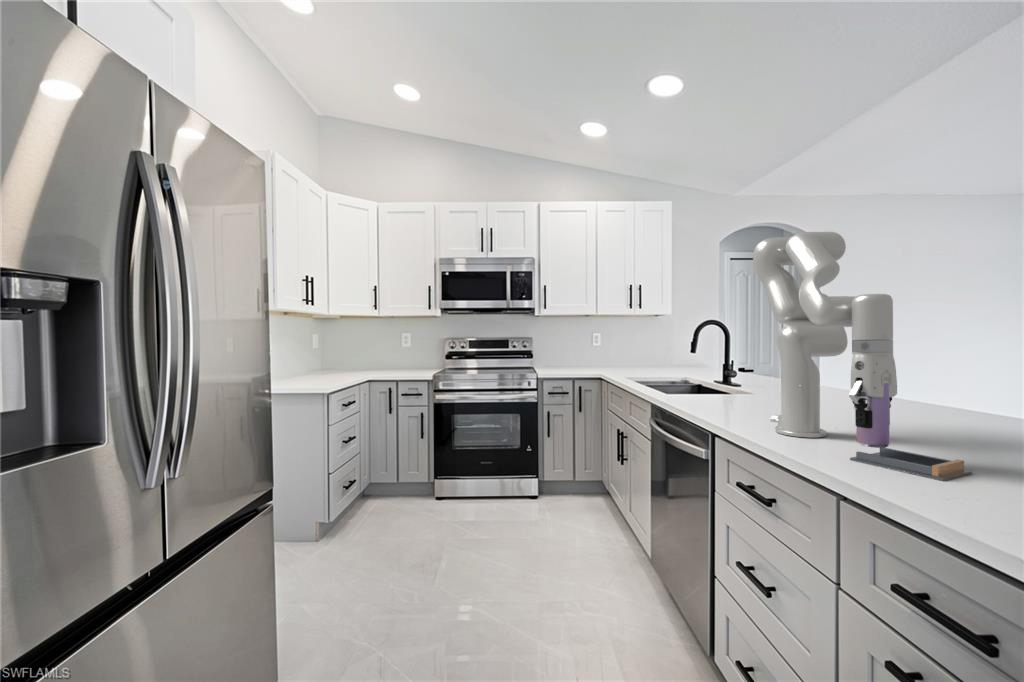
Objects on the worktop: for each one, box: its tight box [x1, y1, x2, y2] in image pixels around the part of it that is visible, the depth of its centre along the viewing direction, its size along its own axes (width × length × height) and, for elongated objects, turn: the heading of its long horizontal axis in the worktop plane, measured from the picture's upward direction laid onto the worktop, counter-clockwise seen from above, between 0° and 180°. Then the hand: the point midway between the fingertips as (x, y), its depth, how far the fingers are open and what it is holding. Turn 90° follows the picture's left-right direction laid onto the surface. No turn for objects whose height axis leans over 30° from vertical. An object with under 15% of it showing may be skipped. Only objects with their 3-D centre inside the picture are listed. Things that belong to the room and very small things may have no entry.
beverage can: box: [856, 381, 890, 449], centre depth 107 cm, size 6×6×15 cm
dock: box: [849, 447, 973, 482], centre depth 101 cm, size 17×11×2 cm, turn 24°
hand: (872, 425), depth 107 cm, fingers closed on beverage can, 5 cm apart
